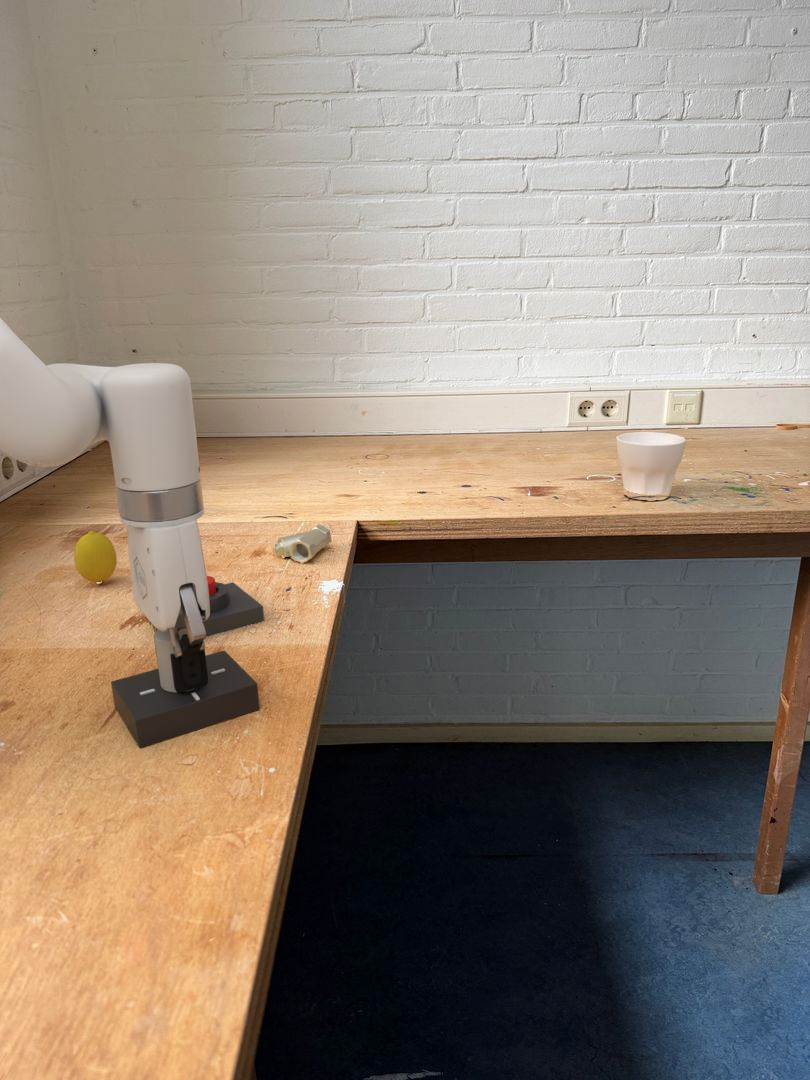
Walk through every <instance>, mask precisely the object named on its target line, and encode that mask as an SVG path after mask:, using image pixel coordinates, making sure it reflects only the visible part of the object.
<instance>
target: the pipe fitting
mask: <svg viewBox="0 0 810 1080" xmlns="http://www.w3.org/2000/svg"><path fill="white" fill-rule="evenodd" d="M331 543H332V533H331V530H330V529H328V527H325V526H324V525H323V524H317V525H316V526H314V527H313V528H311V529H310V530H307V531H304V532H300V533H295V534H291V535H287V536H282V537H278V539H277V543H275V544H274V546H273V548H272V551H273V553H274V554H277V556H278V555H279V556H281V555H283V556H284V557H290V556H291V557H290V559H292V560H293V561H294V562H296V561H301V562H305V563H307V562H308V561H309V560H311V559H312V558H314V557H315V556H316V554H317V553H318V552H319V551H321V550H322V549H324V548H326V547H328V546H329V545H330V544H331Z"/></svg>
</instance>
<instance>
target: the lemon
mask: <svg viewBox="0 0 810 1080" xmlns="http://www.w3.org/2000/svg"><path fill="white" fill-rule="evenodd" d="M117 557H118V556H117V552H116V549H115V547H114V544H113V543H112V541H111V539H110V538H109V537H107V536H106V535H105V534H102V533H100V532H96V531H95V530H89V531H88V533H86V534H84V535H83V536H81V537H80V538H79V539H78V540H77V542H76V544H75V547H74V554H73V558H74V559H73V560H74V565H75V568H76V570H77V572H78V573H79V575H80V576H81V578H83V579H85V580H86V581H89V582H93V583H95V582H101V581H104V582H105V580H108V579H109V578H110V577H112V575H113V574H114V573H115V570H116V567H117V562H118V558H117Z"/></svg>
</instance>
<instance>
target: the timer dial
mask: <svg viewBox="0 0 810 1080" xmlns="http://www.w3.org/2000/svg"><path fill="white" fill-rule="evenodd" d="M186 632H187V628H184V629H180V630H178V633H179V638H180V640H181V637H182V635H184V634H186ZM154 639H155V642H154V648H155V647H156V649H155V655H156V654H157V656H156V662H158V664H157V669H159V677H160V684H161V687H162V688H163V689H164V690H166V691H168V692H176V690H175V688H174V681H173V673H172V666H171V658H170V654H174V652H173V647H172V642H171V637H170V632H169V628H168V630H167V631H164V632H163V631H160V630H159V629H158V630H157V631H156V632H154V634H153V640H154ZM195 689H196V688H195ZM192 690H194V689H192ZM189 691H191V690H189ZM185 692H186V691H185Z"/></svg>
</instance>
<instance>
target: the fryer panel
mask: <svg viewBox="0 0 810 1080" xmlns="http://www.w3.org/2000/svg"><path fill="white" fill-rule="evenodd" d="M205 656H206V665H207V674H208V684H207V685H205V686H202V687H199V688H196V689H194V690H191V691H186V692H182V693H178V692H168V691H166V690H164V689H163V688H162V687H161V684H160V677H159V669H158V668H155V669H152V670H148V671H144V672H140V673H137V674H134V675H130V676H126V677H123V678H119V679H115V680H112V681H110V684H111V692H112V698H113V703H114V704H113V705H114V708H115V710H116V711H117V713H118V715H119V716H120V718H121V720H122V721H123V723H124V725H125V726H126V728H127V730H128V731H129V733H130V735H131V736H132V738H133V740H134V741H135V743H136V744H137V747H138V748H139V749H142V748H145V747H149V746H151V745H155V744H157V743H160V742H163V741H167V740H170V739H173V738H177V737H179V736H182V735H185V734H188V733H192V732H194V731H195V732H196V731H198V730H201V729H204V728H208V727H210V726H213V725H217V724H219V723H223V722H225V721H229V720H232V719H235V718H238V717H242V716H244V715H247V714H250V713H254V712H256V711H259V710H260V698H259V688H258V687H259V686H258V682H257V681H256V680H254V678H253V677H252V676H251V675H250V674H248V672H246V670H245V669H244V668H243V667H241V665H240V664H239V663H237V661H236V660H235V659H233V657H232V656H231V655H230V654H228V652H226V650H220V651H216V652H213V653H209V654H205Z"/></svg>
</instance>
